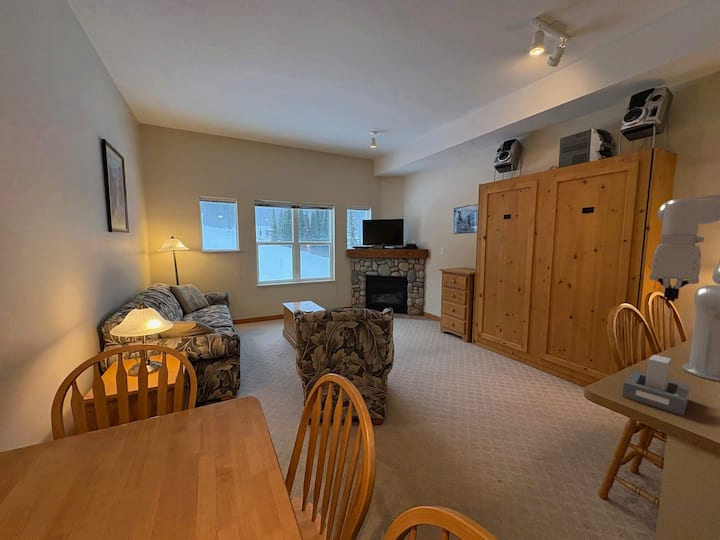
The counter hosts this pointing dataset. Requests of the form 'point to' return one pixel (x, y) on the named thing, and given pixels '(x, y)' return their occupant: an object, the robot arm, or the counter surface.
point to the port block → (657, 393)
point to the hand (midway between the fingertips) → (670, 300)
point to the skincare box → (658, 372)
